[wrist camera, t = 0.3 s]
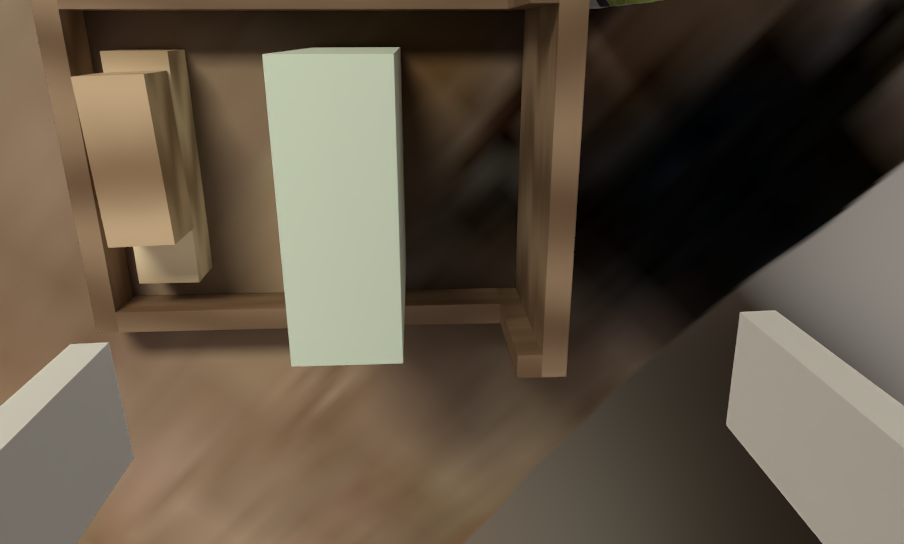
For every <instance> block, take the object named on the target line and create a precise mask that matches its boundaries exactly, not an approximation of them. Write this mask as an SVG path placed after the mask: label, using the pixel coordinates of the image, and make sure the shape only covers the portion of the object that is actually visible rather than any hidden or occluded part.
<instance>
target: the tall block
mask: <svg viewBox="0 0 904 544" xmlns="http://www.w3.org/2000/svg"><path fill="white" fill-rule="evenodd" d="M262 57H263V68H264V78H265V89H266V100H267V110H268V121H269V132H270V142H271V153H272V164H273V175H274V185H275V196H276V207H277V217H278V228H279V239H280V249H281V260H282V271H283V281H284V292H285V303H286V314H287V324H288V335H289V346H290V356H291V366H325V365H362V364H398V363H403V347H404V315H405V283H406V236H405V199H404V162H403V124H402V87H401V50H400V47H314V48H306V49H298V50H291V51H283V52H275V53H268V54H262Z"/></svg>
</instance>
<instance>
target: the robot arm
mask: <svg viewBox="0 0 904 544" xmlns="http://www.w3.org/2000/svg"><path fill="white" fill-rule="evenodd" d="M726 425H727V427H728V428H729V429H730V430H731V432H732V433H733V434H734V435H735V436H736V438H737V439H738V440H739V441H740V443H741V444H742V445H743V446H744V447H745V449H746V450H747V451H748V452H749V454H750V455H751V456H752V457H753V459H754V460H755V461H756V462H757V463H758V465H759V466H760V467H761V468H762V470H763V471H764V472H765V473H766V474H767V476H768V477H769V478H770V479H771V481H772V482H773V483H774V484H775V485H776V486H777V488H778V489H779V490H780V492H781V493H782V494H783V495H784V497H785V498H786V499H787V500H788V501H789V503H790V504H791V505H792V506H793V508H794V509H795V510H796V511H797V513H798V514H799V515H800V516H801V517H802V519H803V520H804V521H805V522H806V524H807V525H808V526H809V527H810V529H811V530H812V531H813V532H814V533H815V535H816V536H817V537H818V538H819V540H820V541H821V542H822V543H823V544H904V406H903V405H902V404H900V403H899V402H898V401H896V400H895V399H894V398H892V397H891V396H890V395H888V394H887V393H886V392H884V391H883V390H882V389H880V388H879V387H878V386H876V385H875V384H873V383H872V382H871V381H870V380H868V379H867V378H866V377H864V376H863V375H862V374H860V373H859V372H857V371H856V370H855V369H853V368H852V367H851V366H849V365H848V364H847V363H845V362H844V361H843V360H841V359H840V358H839V357H837V356H836V355H835V354H833V353H832V352H831V351H829V350H828V349H827V348H825V347H824V346H823V345H821V344H820V343H819V342H817V341H816V340H815V339H813V338H812V337H810V336H809V335H808V334H806V333H805V332H804V331H802V330H801V329H800V328H798V327H797V326H796V325H794V324H793V323H792V322H790V321H789V320H788V319H786V318H785V317H784V316H782V315H781V314H780V313H778V312H777V311H775V310H772V311H753V312H752V311H751V312H740V317H739V325H738V333H737V342H736V349H735V357H734V365H733V374H732V381H731V389H730V397H729V405H728V413H727V421H726ZM133 458H134V455H133V451H132V446H131V442H130V437H129V433H128V428H127V423H126V419H125V414H124V410H123V405H122V401H121V396H120V391H119V387H118V382H117V378H116V373H115V369H114V364H113V359H112V355H111V350H110V346H109V342H108V343H87V344H70V345H69V346H68V347H67V348H66V349H64V350H63V351H62V352H61V353H60V354H59V355H58V356H57V357H55V358H54V359H53V360H52V361H51V362H50V363H49V364H48V365H46V366H45V367H44V368H43V369H42V370H41V371H40V372H39V373H37V374H36V375H35V376H34V377H33V378H32V379H31V380H29V381H28V382H27V383H26V384H25V385H24V386H23V387H22V388H20V389H19V390H18V391H17V392H16V393H15V394H14V395H13V396H11V397H10V398H9V399H8V400H7V401H6V402H5V403H4V404H2V405H1V406H0V544H77V542H78V541H79V539H80V538H81V536H82V535H83V533H84V532H85V530H86V529H87V527H88V526H89V524H90V523H91V521H92V520H93V518H94V517H95V515H96V514H97V512H98V511H99V509H100V508H101V506H102V505H103V503H104V502H105V500H106V499H107V497H108V496H109V494H110V493H111V491H112V490H113V488H114V487H115V485H116V484H117V482H118V481H119V479H120V478H121V476H122V475H123V473H124V472H125V470H126V469H127V467H128V466H129V464H130V463H131V461H132V460H133Z"/></svg>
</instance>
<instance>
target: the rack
mask: <svg viewBox="0 0 904 544" xmlns="http://www.w3.org/2000/svg"><path fill="white" fill-rule="evenodd" d="M30 1H31V6H32V11H33V16H34V21H35V26H36V31H37V36H38V41H39V46H40V51H41V56H42V61H43V66H44V71H45V76H46V81H47V86H48V91H49V96H50V101H51V105H52V110H53V115H54V120H55V125H56V130H57V135H58V140H59V145H60V150H61V155H62V160H63V165H64V170H65V175H66V180H67V185H68V190H69V195H70V200H71V205H72V210H73V215H74V220H75V225H76V230H77V235H78V240H79V245H80V250H81V255H82V260H83V265H84V270H85V275H86V280H87V285H88V290H89V295H90V300H91V305H92V310H93V315H94V320H95V325H96V330H97V333H115V332H156V331H197V330H237V329H278V328H288V324H287V314H286V303H285V293H241V294H196V295H150V296H133V291H132V286H131V280H130V274H129V269H128V263H127V257H126V252H125V247H114V248H108V245H107V240H106V236H105V231H104V227H103V222H102V218H101V213H100V208H99V204H98V199H97V195H96V190H95V186H94V181H93V177H92V172H91V168H90V163H89V159H88V154H87V149H86V145H85V140H84V136H83V131H82V127H81V122H80V118H79V113H78V109H77V104H76V100H75V95H74V90H73V86H72V81H71V77H73V76H80V75H88V74H94V70H93V64H92V59H91V53H90V47H89V42H88V36H87V30H86V25H85V19H84V13H83V11H524V36H523V67H522V98H521V129H520V160H519V191H518V222H517V254H516V285H515V288H470V289H425V290H405V315H404V325H441V324H482V323H500V324H501V327H502V330H503V334H504V337H505V340H506V344H507V347H508V350H509V353H510V357H511V360H512V363H513V367H514V370H515V373H516V377H517V378H536V377H566V371H567V355H568V339H569V323H570V307H571V291H572V275H573V259H574V243H575V227H576V211H577V195H578V179H579V163H580V147H581V131H582V115H583V99H584V83H585V67H586V51H587V36H588V20H589V4H590V0H30Z"/></svg>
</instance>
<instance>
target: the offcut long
mask: <svg viewBox="0 0 904 544" xmlns="http://www.w3.org/2000/svg"><path fill="white" fill-rule="evenodd" d="M100 56H101V62H102V68H103V73H111V72H138V71H165V70H167V74H168V80H169V85H170V91H171V97H172V103H173V109H174V114H175V120H176V126H177V132H178V138H179V144H180V149H181V155H182V161H183V167H184V173H185V178H186V184H187V190H188V196H189V202H190V207H191V213H192V219H193V225H194V228H193V229H192V230H191V231H190V232H189V233H187V234H186V235H185V236H184V237H183V238H182V239H181V240H180V241H178V242H177V243H176V244H175V245H157V246H135V247H133V249H134V255H135V261H136V267H137V273H138V278H139V284H142V283H191V282H200V281H201V280H202V279H203V277H204V276H205V275H206V274H207V273H208V272H209V270H210V269H211V268H212V267H213V264H212V256H211V249H210V241H209V233H208V226H207V218H206V210H205V203H204V195H203V187H202V179H201V172H200V164H199V156H198V149H197V141H196V133H195V125H194V118H193V110H192V102H191V95H190V87H189V79H188V71H187V64H186V56H185V50H111V51H100Z"/></svg>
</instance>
